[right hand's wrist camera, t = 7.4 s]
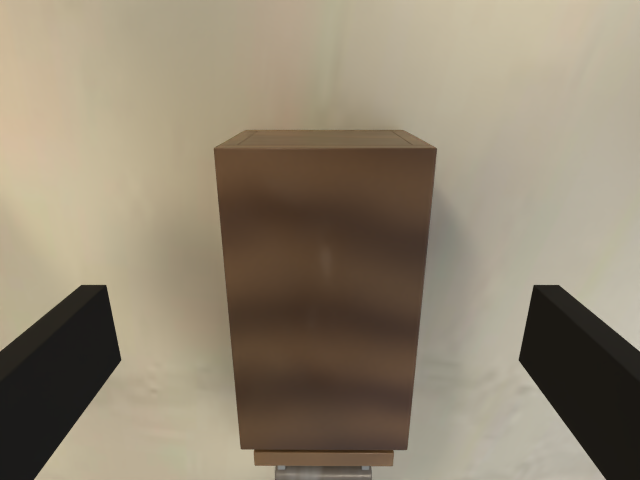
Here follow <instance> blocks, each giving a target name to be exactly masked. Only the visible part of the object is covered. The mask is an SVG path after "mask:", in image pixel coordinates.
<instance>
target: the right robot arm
mask: <svg viewBox="0 0 640 480" xmlns="http://www.w3.org/2000/svg"><path fill="white" fill-rule="evenodd" d="M120 361H121V356H120V351H119V346H118V341H117V336H116V331H115V326H114V321H113V316H112V311H111V306H110V301H109V296H108V291H107V286H106V285H81V286H80V287H78V288H77V289H76V290H75V291H73V292H72V293H71V294H70V295H69V296H67V297H66V298H65V299H64V300H63V301H61V302H60V303H59V304H58V305H56V306H55V307H54V308H53V309H52V310H50V311H49V312H48V313H47V314H45V315H44V316H43V317H42V318H41V319H39V320H38V321H37V322H36V323H35V324H33V325H32V326H31V327H30V328H28V329H27V330H26V331H25V332H24V333H22V334H21V335H20V336H19V337H17V338H16V339H15V340H14V341H13V342H11V343H10V344H9V345H8V346H7V347H5V348H4V349H3V350H2V351H0V480H34V479H35V477H36V476H37V475H38V473H39V472H40V471H41V469H42V468H43V466H44V465H45V464H46V462H47V461H48V460H49V458H50V457H51V456H52V454H53V453H54V451H55V450H56V449H57V447H58V446H59V445H60V443H61V442H62V440H63V439H64V438H65V436H66V435H67V434H68V432H69V431H70V430H71V428H72V427H73V425H74V424H75V423H76V421H77V420H78V419H79V417H80V416H81V415H82V413H83V412H84V410H85V409H86V408H87V406H88V405H89V404H90V402H91V401H92V400H93V398H94V397H95V395H96V394H97V393H98V391H99V390H100V389H101V387H102V386H103V385H104V383H105V382H106V380H107V379H108V378H109V376H110V375H111V374H112V372H113V371H114V370H115V368H116V367H117V365H118V364H119V363H120ZM519 361H520V363H521V364H522V365H523V367H524V368H525V370H526V371H527V372H528V374H529V375H530V376H531V378H532V379H533V380H534V382H535V383H536V385H537V386H538V387H539V389H540V390H541V391H542V393H543V394H544V395H545V397H546V398H547V400H548V401H549V402H550V404H551V405H552V406H553V408H554V409H555V410H556V412H557V413H558V415H559V416H560V417H561V419H562V420H563V421H564V423H565V424H566V425H567V427H568V428H569V430H570V431H571V432H572V434H573V435H574V436H575V438H576V439H577V440H578V442H579V443H580V445H581V446H582V447H583V449H584V450H585V451H586V453H587V454H588V456H589V457H590V458H591V460H592V461H593V462H594V464H595V465H596V466H597V468H598V469H599V471H600V472H601V473H602V475H603V476H604V477H605V479H606V480H640V351H638V350H637V349H636V348H635V347H633V346H632V345H631V344H630V343H629V342H627V341H626V340H625V339H624V338H623V337H621V336H620V335H619V334H618V333H616V332H615V331H614V330H613V329H612V328H610V327H609V326H608V325H607V324H605V323H604V322H603V321H602V320H601V319H599V318H598V317H597V316H596V315H595V314H593V313H592V312H591V311H590V310H588V309H587V308H586V307H585V306H584V305H582V304H581V303H580V302H579V301H577V300H576V299H575V298H574V297H573V296H571V295H570V294H569V293H568V292H567V291H565V290H564V289H563V288H562V287H560V286H559V285H534V286H533V291H532V296H531V301H530V306H529V311H528V316H527V321H526V326H525V331H524V336H523V341H522V346H521V351H520V356H519Z"/></svg>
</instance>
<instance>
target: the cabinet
mask: <svg viewBox="0 0 640 480" xmlns="http://www.w3.org/2000/svg"><path fill="white" fill-rule="evenodd" d="M436 154H437V148H435V147H434V146H432V145H430V144H428V143H426V142H425V141H423V140H421V139H419V138H417V137H415V136H414V135H412V134H410V133H408V132H406V131H404V130H245V131H243V132H241V133H240V134H238V135H236V136H234V137H233V138H231V139H229V140H227V141H226V142H224V143H222V144H220V145H219V146H217V147H215V148H214V156H215V168H216V179H217V190H218V201H219V212H220V223H221V234H222V245H223V256H224V268H225V279H226V290H227V301H228V312H229V323H230V334H231V345H232V356H233V368H234V379H235V390H236V401H237V412H238V423H239V434H240V445H241V449H284V450H407V446H408V436H409V426H410V416H411V406H412V396H413V386H414V376H415V366H416V356H417V345H418V335H419V325H420V315H421V305H422V295H423V285H424V275H425V265H426V255H427V245H428V234H429V224H430V214H431V204H432V194H433V184H434V174H435V164H436Z"/></svg>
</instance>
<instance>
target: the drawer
mask: <svg viewBox="0 0 640 480" xmlns="http://www.w3.org/2000/svg"><path fill="white" fill-rule="evenodd" d="M393 458H394V451H393V450H284V449H254V462H255V466H276V469H275V480H372V470H371V466H393Z"/></svg>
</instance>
